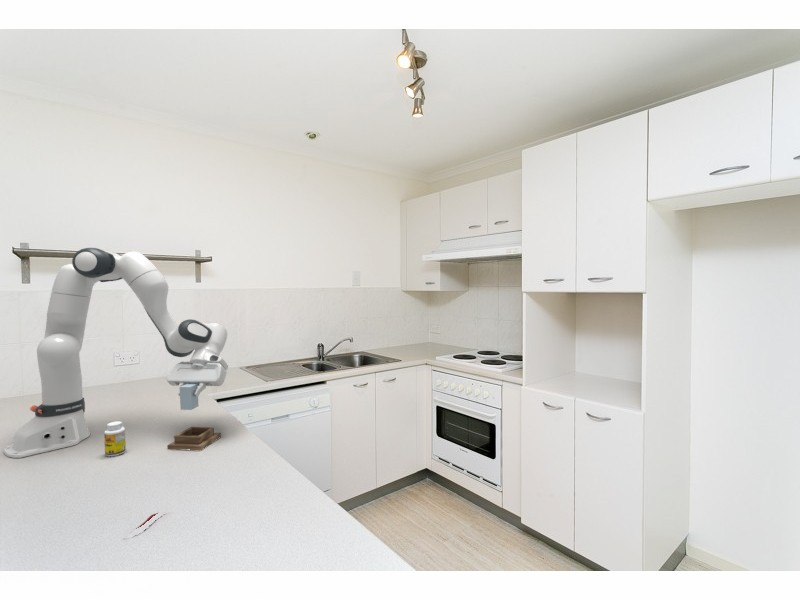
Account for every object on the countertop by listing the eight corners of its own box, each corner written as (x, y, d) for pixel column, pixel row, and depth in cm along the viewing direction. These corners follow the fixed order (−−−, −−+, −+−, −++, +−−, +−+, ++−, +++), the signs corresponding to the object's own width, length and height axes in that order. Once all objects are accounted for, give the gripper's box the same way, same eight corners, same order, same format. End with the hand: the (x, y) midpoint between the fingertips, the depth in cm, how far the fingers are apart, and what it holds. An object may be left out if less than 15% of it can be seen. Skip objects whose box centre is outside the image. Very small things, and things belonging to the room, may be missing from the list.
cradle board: (200, 451, 131) (200, 439, 131) (167, 449, 133) (167, 437, 132) (220, 437, 143) (220, 426, 143) (190, 435, 145) (189, 425, 144)
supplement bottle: (101, 455, 129) (100, 424, 128) (120, 448, 134) (119, 419, 133) (110, 458, 126) (109, 427, 125) (129, 452, 131) (128, 422, 130)
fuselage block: (191, 409, 135) (190, 387, 135) (180, 409, 136) (179, 387, 135) (198, 406, 139) (197, 384, 139) (188, 405, 140) (186, 383, 139)
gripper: (173, 357, 145) (155, 390, 136) (225, 357, 143) (211, 391, 133) (181, 366, 149) (165, 399, 140) (232, 366, 147) (219, 400, 138)
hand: (187, 395), depth 137 cm, fingers closed on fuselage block, 4 cm apart
